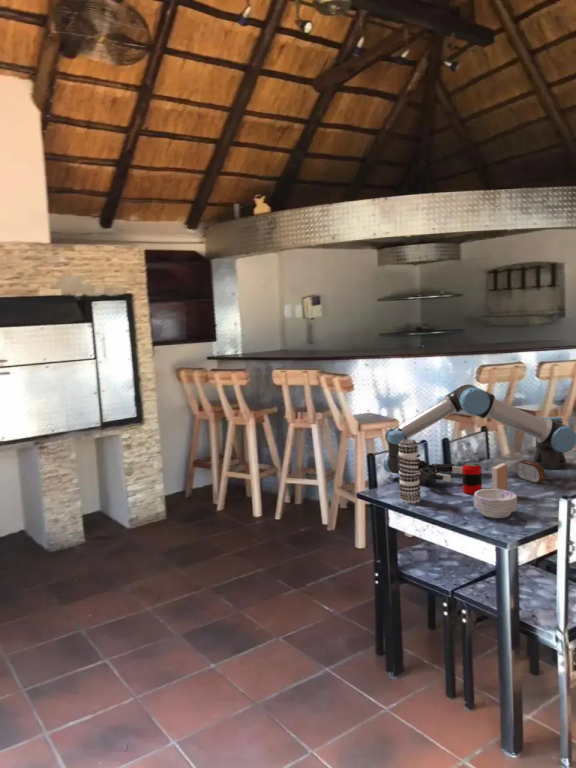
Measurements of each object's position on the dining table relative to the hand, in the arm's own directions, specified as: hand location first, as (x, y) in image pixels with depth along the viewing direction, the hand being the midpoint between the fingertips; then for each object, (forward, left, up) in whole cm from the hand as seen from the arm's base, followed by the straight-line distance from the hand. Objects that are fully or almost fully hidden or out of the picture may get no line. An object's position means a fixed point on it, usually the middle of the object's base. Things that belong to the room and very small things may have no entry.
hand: (458, 474), depth 258 cm
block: (-16, +8, -7) cm, 19 cm away
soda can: (-5, +2, -7) cm, 9 cm away
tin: (-30, -16, -7) cm, 35 cm away
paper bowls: (-12, +29, -7) cm, 33 cm away
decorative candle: (+20, +14, -7) cm, 25 cm away
